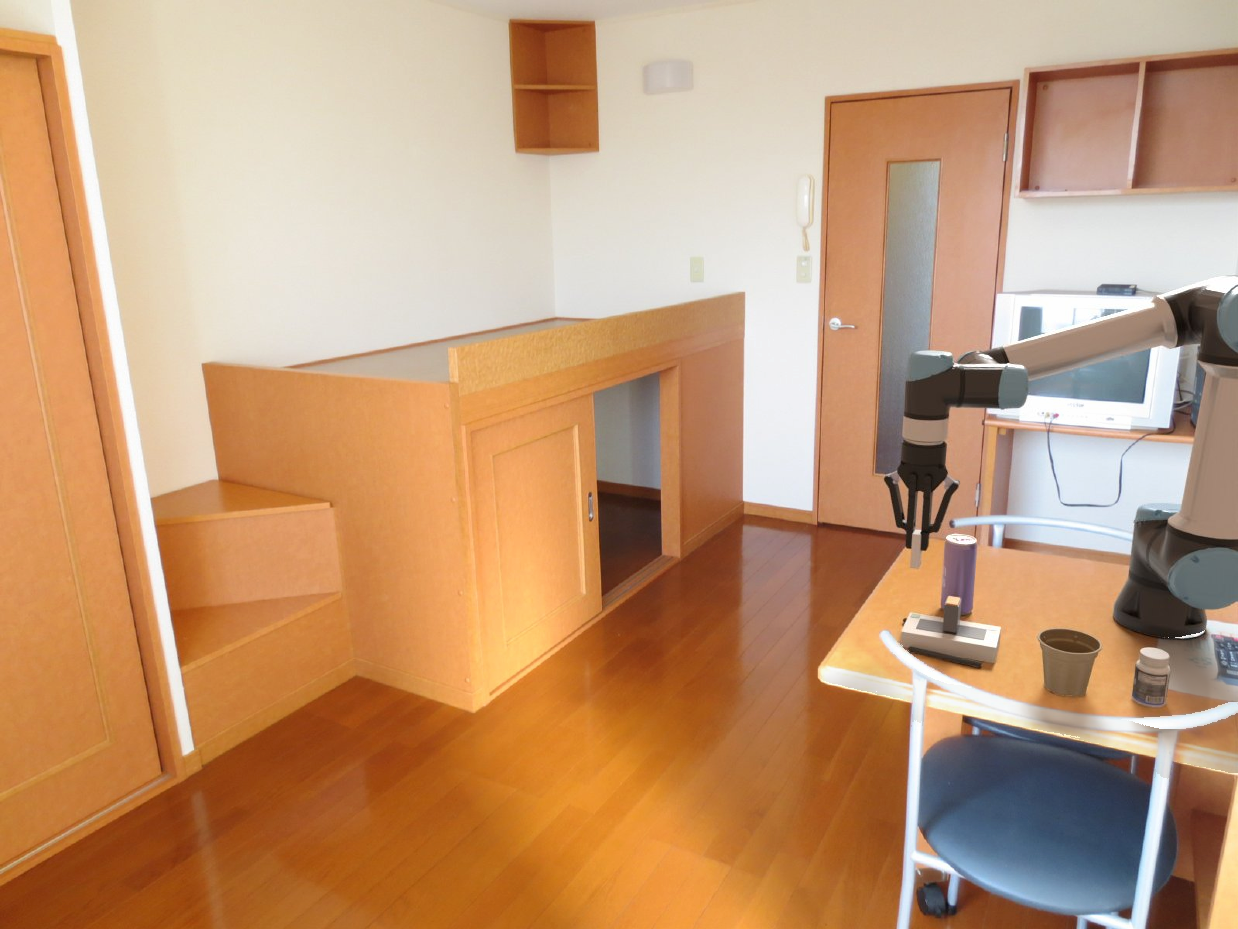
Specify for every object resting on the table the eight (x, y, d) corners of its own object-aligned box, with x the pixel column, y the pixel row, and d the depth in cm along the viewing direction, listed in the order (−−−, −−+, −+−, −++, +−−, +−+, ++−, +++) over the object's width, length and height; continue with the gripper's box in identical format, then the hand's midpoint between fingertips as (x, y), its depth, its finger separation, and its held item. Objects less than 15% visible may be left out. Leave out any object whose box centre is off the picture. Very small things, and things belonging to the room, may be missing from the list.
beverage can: (974, 617, 172) (980, 544, 169) (942, 615, 174) (947, 543, 170) (969, 604, 178) (974, 534, 174) (938, 603, 179) (942, 533, 175)
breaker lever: (959, 624, 162) (961, 597, 161) (956, 632, 159) (958, 605, 157) (945, 621, 163) (947, 595, 162) (942, 630, 160) (944, 603, 158)
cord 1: (981, 666, 153) (981, 661, 153) (980, 669, 153) (980, 663, 152) (908, 650, 160) (908, 645, 160) (906, 652, 159) (907, 647, 159)
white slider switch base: (999, 642, 162) (1001, 626, 161) (994, 663, 154) (996, 647, 154) (909, 626, 169) (910, 612, 168) (900, 646, 162) (901, 631, 161)
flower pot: (1028, 693, 144) (1032, 645, 142) (1038, 669, 152) (1042, 623, 150) (1092, 709, 139) (1098, 659, 137) (1099, 683, 147) (1105, 635, 144)
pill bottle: (1138, 690, 144) (1144, 643, 142) (1170, 701, 141) (1177, 653, 138) (1126, 700, 141) (1132, 652, 139) (1158, 712, 138) (1165, 663, 136)
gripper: (966, 438, 155) (956, 564, 161) (890, 432, 161) (883, 553, 167) (961, 448, 149) (950, 578, 155) (882, 441, 155) (874, 567, 161)
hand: (915, 565), depth 161 cm, fingers closed
